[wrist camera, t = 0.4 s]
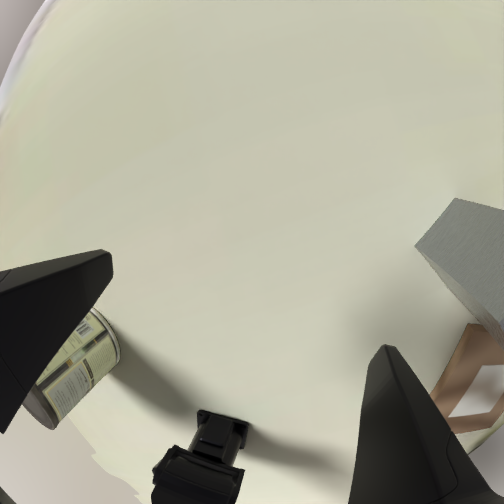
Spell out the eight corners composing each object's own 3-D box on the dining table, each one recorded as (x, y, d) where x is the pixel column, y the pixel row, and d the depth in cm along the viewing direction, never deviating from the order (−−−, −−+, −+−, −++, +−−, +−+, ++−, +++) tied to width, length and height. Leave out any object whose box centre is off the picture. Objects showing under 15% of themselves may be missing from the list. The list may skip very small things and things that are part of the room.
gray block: (447, 287, 19) (521, 374, 7) (414, 245, 19) (499, 322, 7) (485, 243, 17) (577, 300, 5) (454, 197, 17) (562, 230, 5)
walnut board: (487, 420, 21) (490, 427, 20) (405, 429, 24) (407, 439, 22) (543, 329, 16) (549, 334, 15) (467, 323, 19) (474, 331, 18)
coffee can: (77, 353, 33) (17, 403, 20) (61, 293, 30) (-15, 338, 17) (128, 377, 31) (67, 444, 18) (113, 312, 28) (26, 379, 15)
